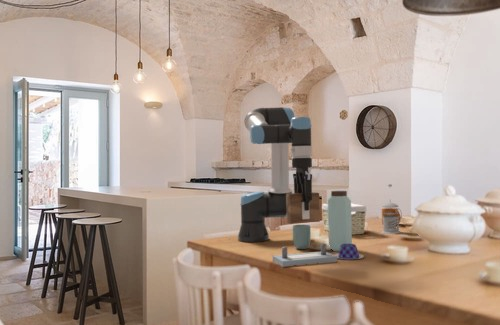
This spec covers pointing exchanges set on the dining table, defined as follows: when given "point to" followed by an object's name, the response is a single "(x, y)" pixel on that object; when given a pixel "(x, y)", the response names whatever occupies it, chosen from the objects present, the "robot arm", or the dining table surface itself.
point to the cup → (301, 236)
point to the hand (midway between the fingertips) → (303, 218)
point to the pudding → (349, 252)
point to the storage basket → (356, 218)
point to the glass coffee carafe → (387, 210)
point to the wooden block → (296, 208)
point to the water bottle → (339, 220)
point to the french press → (391, 219)
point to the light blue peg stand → (304, 257)
